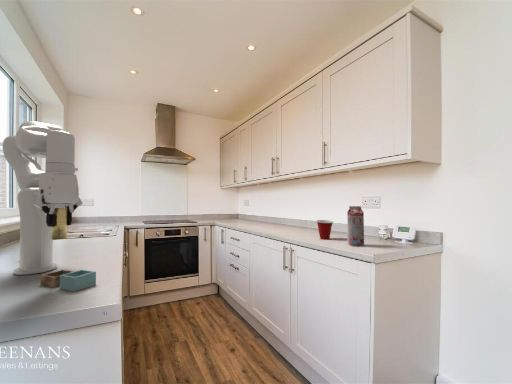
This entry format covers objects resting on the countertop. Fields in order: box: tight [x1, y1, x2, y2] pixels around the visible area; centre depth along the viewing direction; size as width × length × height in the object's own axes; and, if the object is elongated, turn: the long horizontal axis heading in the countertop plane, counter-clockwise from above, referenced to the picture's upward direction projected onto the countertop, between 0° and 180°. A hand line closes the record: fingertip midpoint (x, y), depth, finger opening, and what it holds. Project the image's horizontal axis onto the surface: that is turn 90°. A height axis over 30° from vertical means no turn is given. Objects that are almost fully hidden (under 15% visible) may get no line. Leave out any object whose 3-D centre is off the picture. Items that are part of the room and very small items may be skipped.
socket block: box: [40, 269, 75, 288], centre depth 82 cm, size 7×7×3 cm
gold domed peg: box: [51, 208, 68, 241], centre depth 82 cm, size 4×4×10 cm
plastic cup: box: [316, 219, 334, 240], centre depth 166 cm, size 11×11×12 cm
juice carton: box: [346, 205, 365, 247], centre depth 143 cm, size 7×7×22 cm
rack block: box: [59, 269, 97, 292], centre depth 78 cm, size 7×7×4 cm
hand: (59, 225), depth 82 cm, fingers closed on gold domed peg, 4 cm apart
